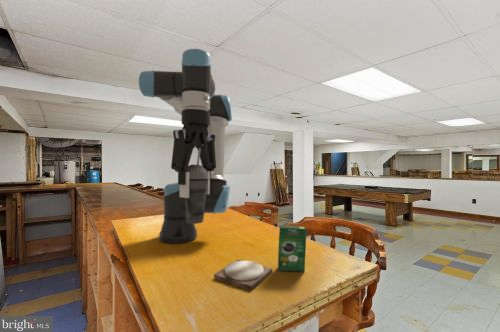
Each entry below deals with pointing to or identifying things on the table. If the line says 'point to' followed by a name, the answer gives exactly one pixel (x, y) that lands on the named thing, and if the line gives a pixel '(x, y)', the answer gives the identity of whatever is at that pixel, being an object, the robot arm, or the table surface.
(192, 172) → the beverage cup
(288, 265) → the coffee box
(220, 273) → the mount
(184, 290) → the table surface
